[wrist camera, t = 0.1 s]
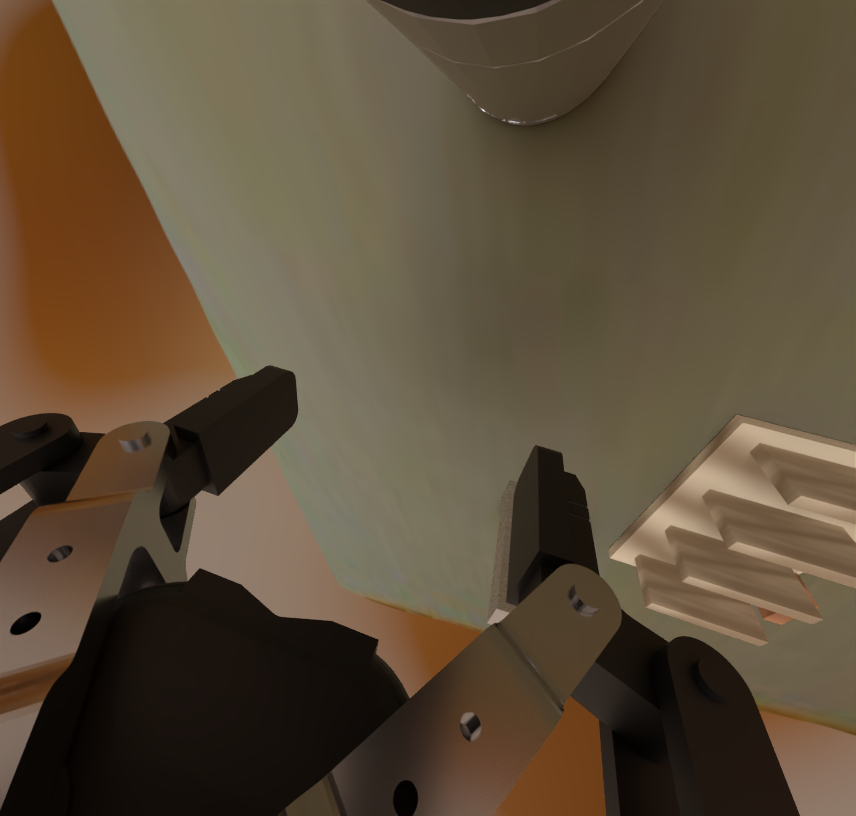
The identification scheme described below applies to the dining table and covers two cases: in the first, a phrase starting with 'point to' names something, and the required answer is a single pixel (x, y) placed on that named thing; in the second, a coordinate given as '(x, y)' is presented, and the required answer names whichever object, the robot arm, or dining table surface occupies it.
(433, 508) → the dining table surface
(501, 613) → the aluminium block
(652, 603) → the slot rack
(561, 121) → the dining table surface
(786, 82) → the dining table surface
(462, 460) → the dining table surface
